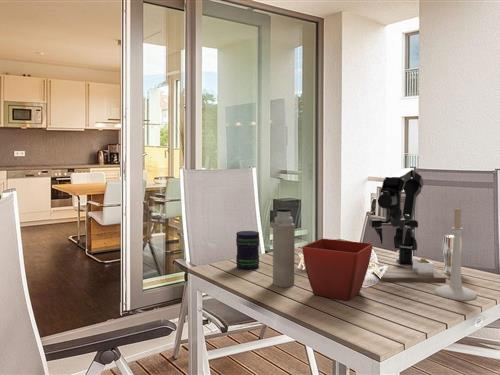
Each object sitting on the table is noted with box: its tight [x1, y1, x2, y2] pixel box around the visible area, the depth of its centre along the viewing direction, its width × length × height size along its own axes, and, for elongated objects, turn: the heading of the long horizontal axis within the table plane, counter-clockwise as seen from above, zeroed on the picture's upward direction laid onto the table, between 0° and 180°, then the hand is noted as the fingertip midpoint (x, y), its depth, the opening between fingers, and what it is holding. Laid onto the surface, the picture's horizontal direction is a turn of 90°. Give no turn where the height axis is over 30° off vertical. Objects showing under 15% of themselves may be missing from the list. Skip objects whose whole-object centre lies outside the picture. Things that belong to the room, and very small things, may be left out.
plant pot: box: [302, 238, 373, 301], centre depth 151 cm, size 19×19×17 cm
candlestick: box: [434, 207, 477, 301], centre depth 149 cm, size 13×13×30 cm
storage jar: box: [235, 230, 260, 272], centre depth 186 cm, size 10×10×15 cm
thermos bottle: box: [272, 207, 296, 288], centre depth 162 cm, size 8×8×28 cm
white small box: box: [412, 259, 435, 275], centre depth 172 cm, size 6×6×4 cm
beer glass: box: [442, 234, 463, 275], centre depth 178 cm, size 7×7×15 cm
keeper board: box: [380, 258, 447, 283], centre depth 172 cm, size 14×24×7 cm, turn 88°
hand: (392, 244), depth 182 cm, fingers open, 9 cm apart
